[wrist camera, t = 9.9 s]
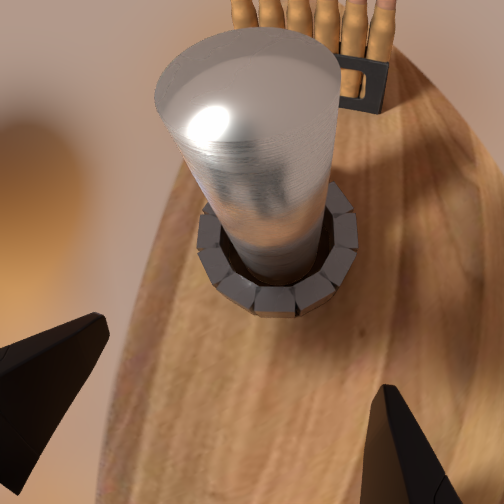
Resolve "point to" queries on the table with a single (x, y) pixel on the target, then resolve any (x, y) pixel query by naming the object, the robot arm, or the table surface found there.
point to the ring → (282, 298)
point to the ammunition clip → (337, 40)
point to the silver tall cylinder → (258, 139)
